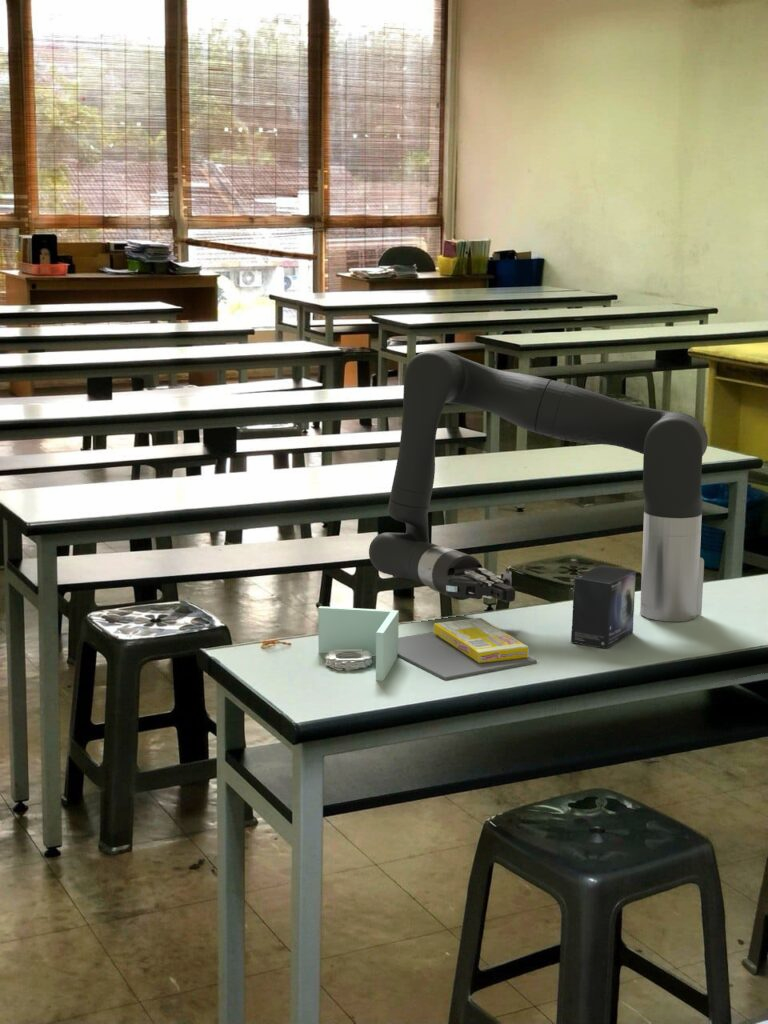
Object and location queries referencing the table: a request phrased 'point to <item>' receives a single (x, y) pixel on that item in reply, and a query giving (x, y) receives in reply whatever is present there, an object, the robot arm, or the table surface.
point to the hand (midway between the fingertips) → (511, 595)
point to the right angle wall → (358, 638)
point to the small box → (603, 606)
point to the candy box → (481, 640)
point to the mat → (447, 657)
